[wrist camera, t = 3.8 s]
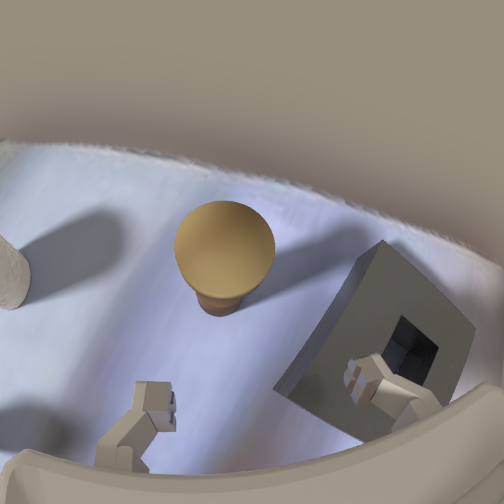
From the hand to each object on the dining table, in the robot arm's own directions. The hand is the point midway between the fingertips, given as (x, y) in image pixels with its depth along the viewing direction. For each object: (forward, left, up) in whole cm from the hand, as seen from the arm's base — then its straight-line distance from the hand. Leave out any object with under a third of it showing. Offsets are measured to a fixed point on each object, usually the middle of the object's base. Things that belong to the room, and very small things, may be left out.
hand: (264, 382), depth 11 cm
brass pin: (+5, -4, -12) cm, 14 cm away
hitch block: (-12, -8, -12) cm, 19 cm away
